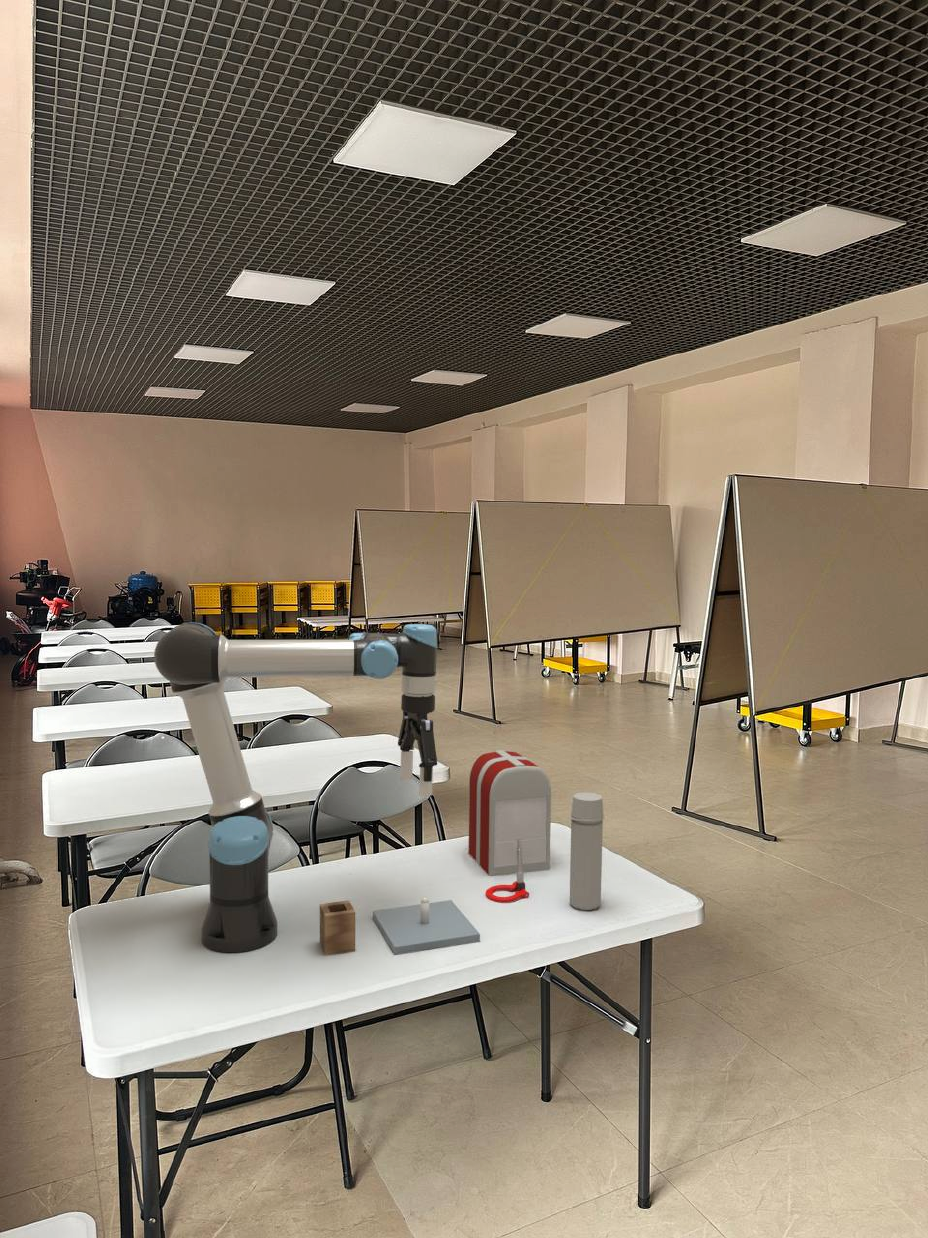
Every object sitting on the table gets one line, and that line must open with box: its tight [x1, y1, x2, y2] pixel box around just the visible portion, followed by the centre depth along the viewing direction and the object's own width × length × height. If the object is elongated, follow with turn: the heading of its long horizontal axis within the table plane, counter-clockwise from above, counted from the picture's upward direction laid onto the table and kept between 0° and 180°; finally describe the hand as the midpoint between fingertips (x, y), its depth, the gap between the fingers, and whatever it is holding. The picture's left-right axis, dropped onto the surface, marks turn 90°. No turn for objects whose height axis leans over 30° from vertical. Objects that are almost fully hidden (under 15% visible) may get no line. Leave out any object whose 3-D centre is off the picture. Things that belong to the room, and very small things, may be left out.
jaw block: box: [319, 900, 356, 956], centre depth 176 cm, size 6×6×8 cm
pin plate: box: [372, 896, 481, 955], centre depth 184 cm, size 18×18×7 cm
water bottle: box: [568, 791, 605, 911], centre depth 197 cm, size 9×8×25 cm
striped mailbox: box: [467, 749, 552, 877], centre depth 223 cm, size 16×18×27 cm
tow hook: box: [485, 839, 530, 903], centre depth 202 cm, size 8×13×9 cm
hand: (415, 787), depth 197 cm, fingers open, 13 cm apart
